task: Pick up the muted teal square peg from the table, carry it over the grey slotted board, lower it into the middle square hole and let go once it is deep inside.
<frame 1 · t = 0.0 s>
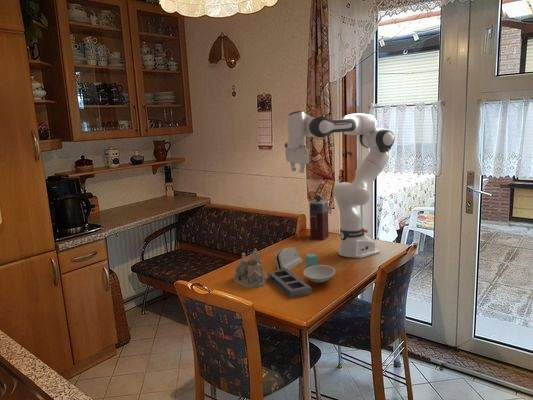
hand: (297, 172, 209), 48 cm above the table, tool pointing down, fingers open, 8 cm apart
dish: (319, 282, 191), on the table
dark brown tall piece: (318, 238, 261), on the table
hinge: (288, 265, 216), on the table
square peg: (312, 270, 206), on the table
grey slotted board: (288, 285, 189), on the table
ceramic cottage: (249, 281, 197), on the table
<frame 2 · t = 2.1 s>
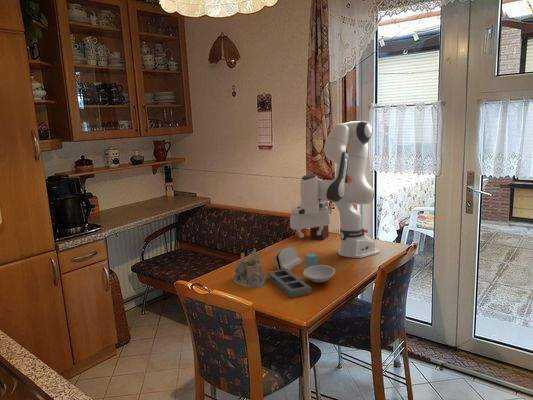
hand: (310, 236, 202), 18 cm above the table, tool pointing down, fingers open, 8 cm apart
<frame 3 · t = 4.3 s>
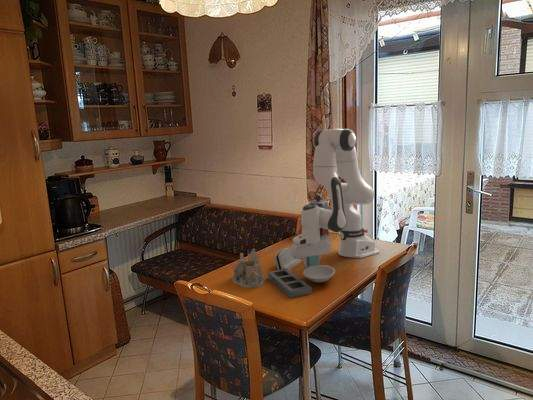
hand: (311, 264, 205), 3 cm above the table, tool pointing down, fingers closed on square peg, 4 cm apart
square peg: (312, 270, 206), on the table, touching gripper
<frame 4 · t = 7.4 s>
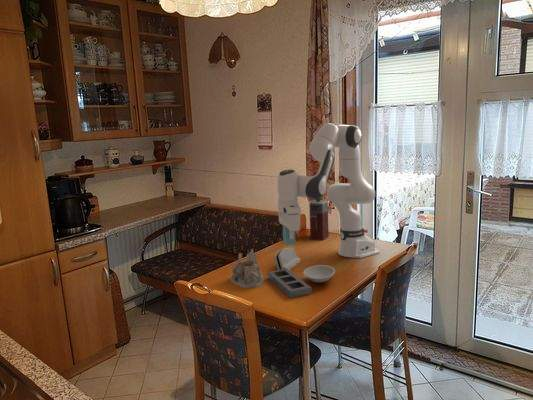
hand: (289, 237, 186), 22 cm above the table, tool pointing down, fingers closed on square peg, 4 cm apart
square peg: (289, 243, 187), point 19 cm above the table, touching gripper
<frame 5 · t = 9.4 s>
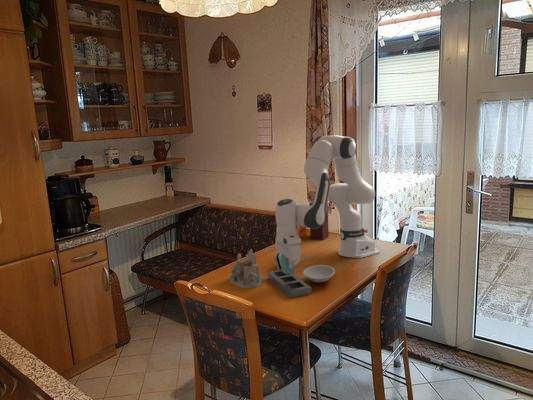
hand: (287, 265, 187), 10 cm above the table, tool pointing down, fingers closed on square peg, 4 cm apart
square peg: (288, 272, 187), point 6 cm above the table, touching gripper
when the fingers open (4 cm above the table, at t = 10.8 s): square peg drops 1 cm, resting in grey slotted board.
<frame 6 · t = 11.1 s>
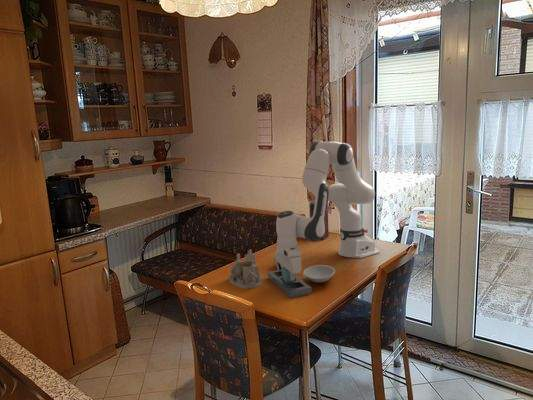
hand: (288, 276, 188), 4 cm above the table, tool pointing down, fingers open, 7 cm apart
square peg: (288, 285, 189), resting in grey slotted board
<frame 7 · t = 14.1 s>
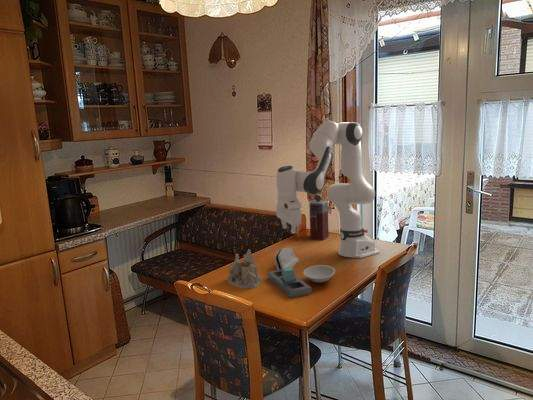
hand: (288, 230, 193), 23 cm above the table, tool pointing down, fingers open, 8 cm apart
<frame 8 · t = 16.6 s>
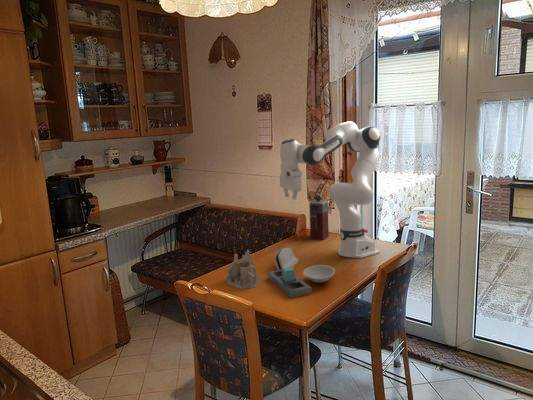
hand: (290, 198, 215), 34 cm above the table, tool pointing down, fingers open, 8 cm apart
at the end: square peg 0.1 cm off-centre on the grey slotted board, point 0.0 cm above the grey slotted board's base; square peg tilted 0°; the gripper is holding nothing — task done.
